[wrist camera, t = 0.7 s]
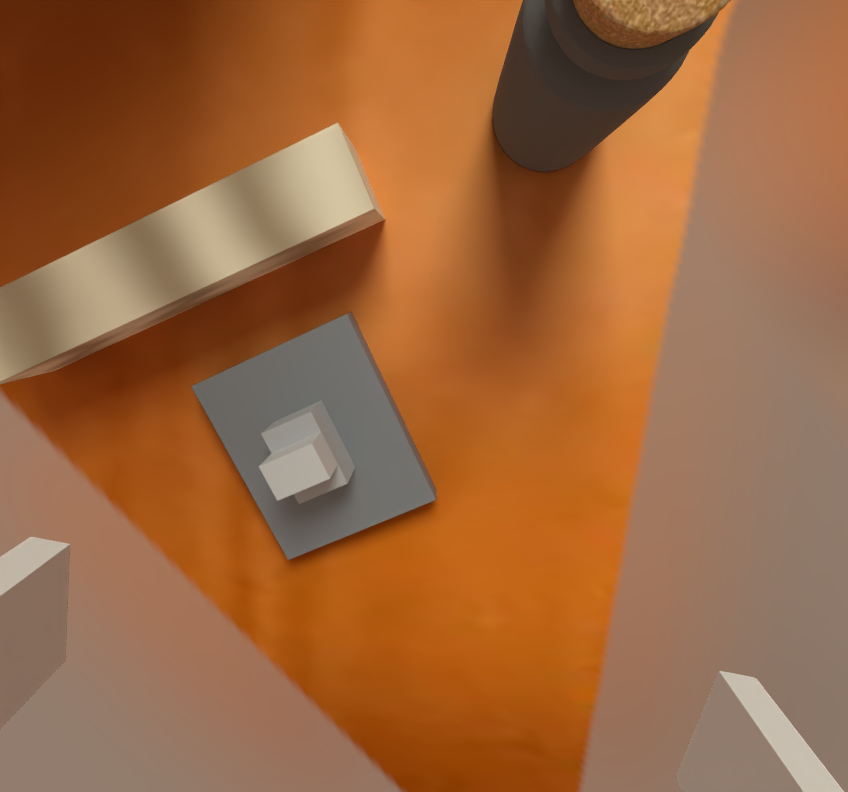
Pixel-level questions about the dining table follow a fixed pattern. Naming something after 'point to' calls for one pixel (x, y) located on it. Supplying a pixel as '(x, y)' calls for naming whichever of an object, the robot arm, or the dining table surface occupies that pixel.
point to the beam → (186, 254)
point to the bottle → (588, 71)
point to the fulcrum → (317, 437)
